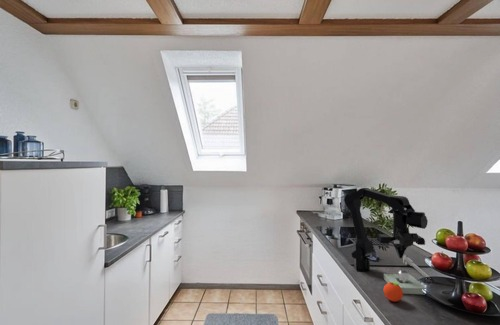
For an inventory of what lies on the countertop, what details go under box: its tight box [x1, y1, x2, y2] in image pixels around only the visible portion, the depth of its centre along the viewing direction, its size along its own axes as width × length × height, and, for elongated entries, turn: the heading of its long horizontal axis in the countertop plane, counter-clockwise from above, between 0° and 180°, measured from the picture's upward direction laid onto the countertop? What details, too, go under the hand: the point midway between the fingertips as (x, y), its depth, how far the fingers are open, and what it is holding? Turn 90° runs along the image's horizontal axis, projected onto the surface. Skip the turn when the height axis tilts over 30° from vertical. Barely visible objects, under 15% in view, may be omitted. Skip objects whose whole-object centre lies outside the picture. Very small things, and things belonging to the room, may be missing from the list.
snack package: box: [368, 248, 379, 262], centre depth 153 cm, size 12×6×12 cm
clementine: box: [383, 282, 404, 303], centre depth 105 cm, size 8×7×7 cm
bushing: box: [397, 268, 410, 284], centre depth 117 cm, size 4×4×7 cm
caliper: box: [402, 253, 430, 278], centre depth 133 cm, size 20×1×6 cm, turn 1°
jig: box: [383, 273, 428, 295], centre depth 117 cm, size 12×14×2 cm
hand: (400, 258), depth 120 cm, fingers closed
